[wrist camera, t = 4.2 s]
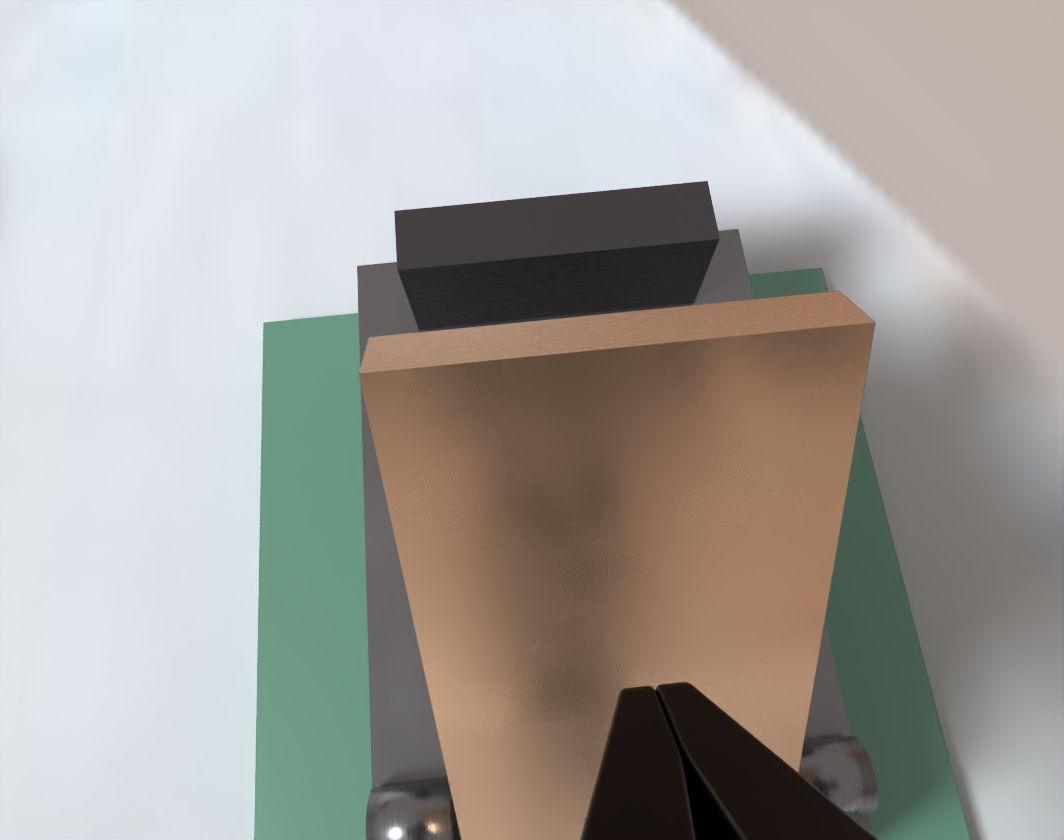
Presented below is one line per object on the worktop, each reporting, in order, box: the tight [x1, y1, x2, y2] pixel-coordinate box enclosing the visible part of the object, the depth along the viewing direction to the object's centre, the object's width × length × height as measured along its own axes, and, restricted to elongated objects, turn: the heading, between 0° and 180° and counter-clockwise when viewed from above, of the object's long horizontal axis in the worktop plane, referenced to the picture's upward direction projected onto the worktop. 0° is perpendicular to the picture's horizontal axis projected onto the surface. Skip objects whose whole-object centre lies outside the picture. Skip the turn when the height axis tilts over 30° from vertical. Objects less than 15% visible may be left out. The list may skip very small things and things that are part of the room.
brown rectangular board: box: [359, 291, 875, 840], centre depth 12 cm, size 10×6×1 cm
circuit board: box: [254, 268, 970, 840], centre depth 21 cm, size 20×18×1 cm
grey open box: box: [357, 181, 878, 840], centre depth 18 cm, size 16×10×7 cm, turn 6°
